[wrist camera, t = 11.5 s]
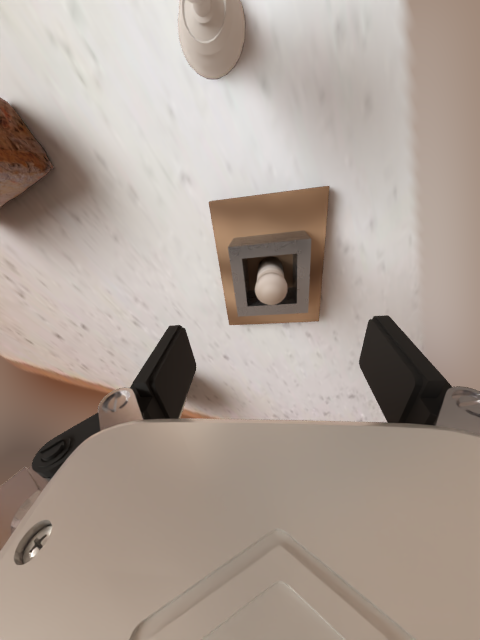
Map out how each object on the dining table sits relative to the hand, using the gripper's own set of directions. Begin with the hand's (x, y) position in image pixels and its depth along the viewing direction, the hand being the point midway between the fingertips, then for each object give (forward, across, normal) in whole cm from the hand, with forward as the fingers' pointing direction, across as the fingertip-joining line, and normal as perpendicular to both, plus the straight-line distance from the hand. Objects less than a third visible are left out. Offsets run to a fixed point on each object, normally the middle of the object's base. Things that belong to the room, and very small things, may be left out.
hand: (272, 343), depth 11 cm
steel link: (+14, 0, +1) cm, 14 cm away
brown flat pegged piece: (+16, 0, +1) cm, 16 cm away
